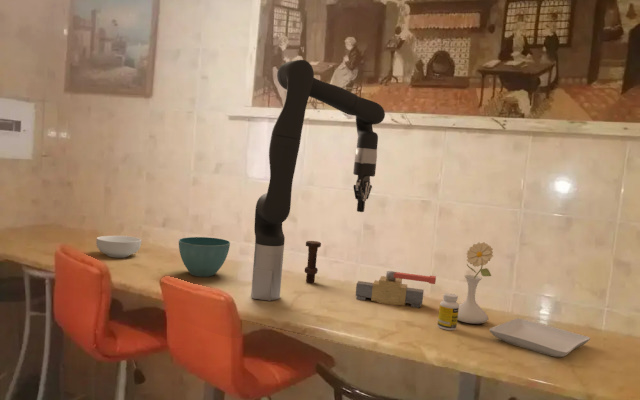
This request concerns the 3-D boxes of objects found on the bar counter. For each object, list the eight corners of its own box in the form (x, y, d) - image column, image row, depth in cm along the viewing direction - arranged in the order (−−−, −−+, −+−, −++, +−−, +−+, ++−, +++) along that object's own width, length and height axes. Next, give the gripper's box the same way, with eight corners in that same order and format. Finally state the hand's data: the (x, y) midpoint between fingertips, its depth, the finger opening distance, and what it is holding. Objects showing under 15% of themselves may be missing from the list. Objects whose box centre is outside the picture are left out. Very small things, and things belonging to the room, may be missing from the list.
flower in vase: (442, 316, 175) (450, 237, 173) (471, 315, 180) (480, 237, 178) (468, 329, 163) (477, 244, 161) (499, 327, 168) (508, 245, 166)
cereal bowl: (149, 257, 226) (150, 239, 225) (114, 261, 212) (115, 243, 211) (121, 250, 235) (122, 233, 234) (86, 254, 221) (87, 236, 220)
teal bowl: (191, 282, 191) (194, 246, 190) (167, 270, 205) (169, 237, 204) (237, 277, 203) (239, 244, 202) (211, 267, 217) (213, 236, 216)
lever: (435, 283, 185) (436, 276, 185) (434, 285, 182) (435, 278, 182) (386, 277, 189) (387, 269, 189) (385, 279, 186) (386, 271, 186)
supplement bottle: (452, 332, 159) (456, 298, 159) (434, 327, 162) (438, 294, 161) (458, 327, 164) (462, 295, 163) (441, 323, 167) (444, 291, 166)
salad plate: (590, 347, 157) (592, 335, 157) (565, 364, 141) (566, 351, 141) (516, 327, 171) (517, 316, 171) (485, 341, 155) (487, 328, 155)
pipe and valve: (421, 308, 182) (423, 286, 181) (354, 299, 186) (356, 277, 186) (422, 303, 189) (424, 281, 188) (357, 294, 193) (359, 273, 193)
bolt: (315, 284, 202) (318, 243, 201) (301, 283, 203) (305, 242, 202) (318, 281, 208) (321, 241, 207) (305, 279, 209) (308, 240, 208)
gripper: (361, 161, 201) (356, 209, 202) (348, 160, 189) (343, 211, 190) (381, 163, 198) (376, 212, 199) (369, 162, 186) (364, 214, 187)
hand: (360, 211), depth 195 cm, fingers closed
